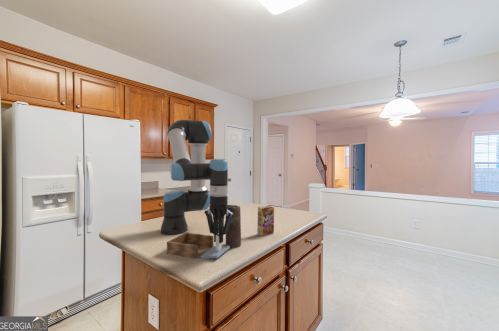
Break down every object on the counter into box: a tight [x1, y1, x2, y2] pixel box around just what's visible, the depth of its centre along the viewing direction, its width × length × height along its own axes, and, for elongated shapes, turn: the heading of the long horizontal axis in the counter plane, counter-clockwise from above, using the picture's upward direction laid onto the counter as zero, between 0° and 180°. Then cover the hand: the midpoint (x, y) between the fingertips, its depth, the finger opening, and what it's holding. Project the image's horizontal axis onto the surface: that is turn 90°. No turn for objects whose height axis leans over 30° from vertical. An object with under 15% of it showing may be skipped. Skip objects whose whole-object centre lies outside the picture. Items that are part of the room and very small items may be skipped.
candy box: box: [256, 205, 275, 237], centre depth 129 cm, size 9×4×15 cm, turn 123°
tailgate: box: [197, 245, 231, 260], centre depth 100 cm, size 1×12×9 cm
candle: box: [225, 204, 242, 249], centre depth 110 cm, size 8×7×20 cm
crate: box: [166, 231, 214, 259], centre depth 104 cm, size 15×14×6 cm
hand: (218, 249), depth 99 cm, fingers closed
